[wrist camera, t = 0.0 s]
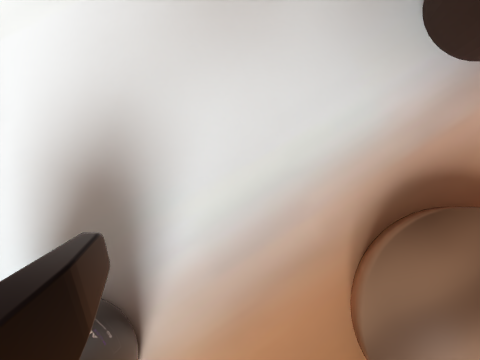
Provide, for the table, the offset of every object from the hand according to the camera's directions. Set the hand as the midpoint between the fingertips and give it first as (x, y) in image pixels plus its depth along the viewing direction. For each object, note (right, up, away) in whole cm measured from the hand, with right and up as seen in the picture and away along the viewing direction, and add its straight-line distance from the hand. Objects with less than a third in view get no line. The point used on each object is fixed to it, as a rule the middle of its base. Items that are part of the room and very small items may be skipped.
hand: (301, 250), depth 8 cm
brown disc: (+11, -6, +14) cm, 19 cm away
